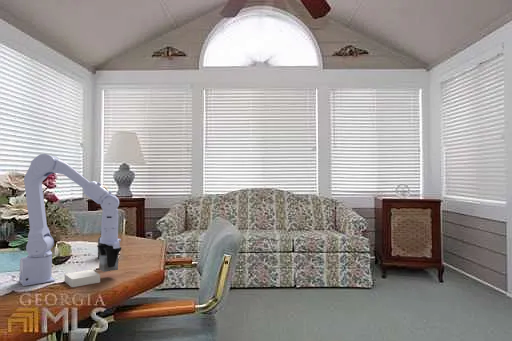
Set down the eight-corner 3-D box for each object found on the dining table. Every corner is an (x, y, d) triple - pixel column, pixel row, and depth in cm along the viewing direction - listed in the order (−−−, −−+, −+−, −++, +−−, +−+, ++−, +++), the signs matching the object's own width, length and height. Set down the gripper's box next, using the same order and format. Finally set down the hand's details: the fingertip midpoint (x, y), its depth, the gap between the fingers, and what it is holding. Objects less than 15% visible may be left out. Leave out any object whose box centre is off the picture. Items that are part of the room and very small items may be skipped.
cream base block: (71, 288, 117) (72, 279, 117) (64, 282, 124) (64, 273, 124) (100, 283, 123) (100, 274, 123) (91, 277, 130) (91, 269, 130)
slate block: (103, 271, 126) (104, 257, 126) (99, 269, 130) (99, 255, 130) (118, 269, 129) (118, 255, 129) (112, 267, 133) (113, 253, 133)
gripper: (128, 229, 127) (127, 267, 127) (113, 225, 138) (112, 260, 138) (108, 231, 122) (107, 270, 122) (94, 226, 133) (93, 262, 133)
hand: (108, 265), depth 129 cm, fingers closed on slate block, 5 cm apart
